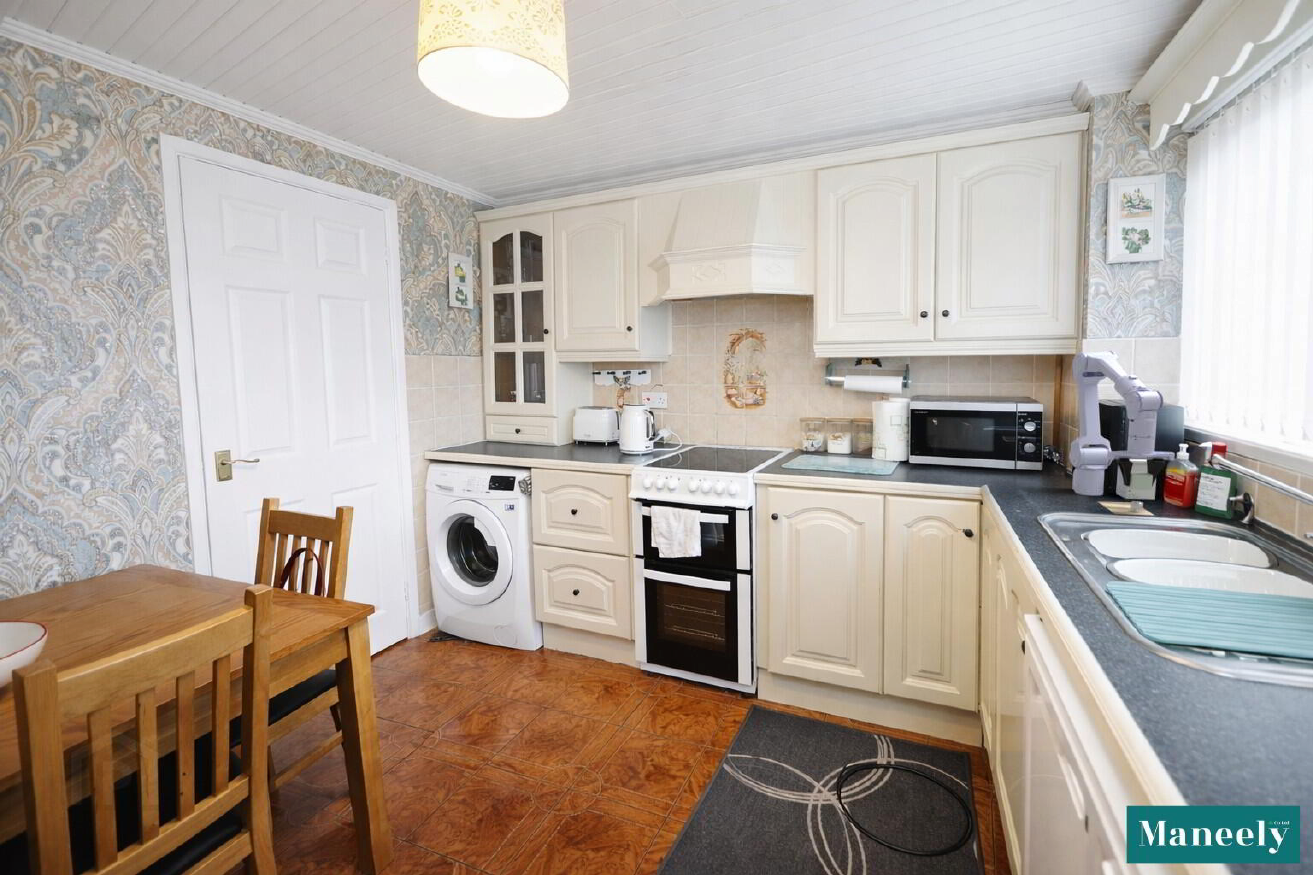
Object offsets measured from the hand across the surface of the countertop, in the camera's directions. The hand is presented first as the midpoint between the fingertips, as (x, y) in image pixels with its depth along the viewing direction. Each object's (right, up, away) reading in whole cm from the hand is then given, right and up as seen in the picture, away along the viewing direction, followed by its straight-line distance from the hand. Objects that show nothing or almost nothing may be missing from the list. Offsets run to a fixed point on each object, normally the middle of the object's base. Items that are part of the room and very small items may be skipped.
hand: (1138, 485), depth 172 cm
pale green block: (0, -1, 0) cm, 1 cm away
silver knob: (0, -8, +1) cm, 8 cm away
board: (0, -8, +5) cm, 9 cm away
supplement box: (+12, -6, +17) cm, 22 cm away
